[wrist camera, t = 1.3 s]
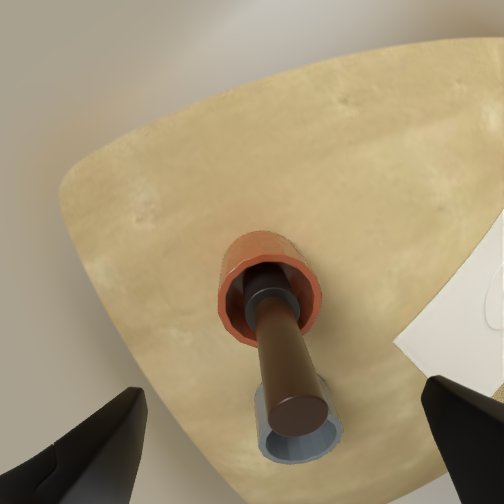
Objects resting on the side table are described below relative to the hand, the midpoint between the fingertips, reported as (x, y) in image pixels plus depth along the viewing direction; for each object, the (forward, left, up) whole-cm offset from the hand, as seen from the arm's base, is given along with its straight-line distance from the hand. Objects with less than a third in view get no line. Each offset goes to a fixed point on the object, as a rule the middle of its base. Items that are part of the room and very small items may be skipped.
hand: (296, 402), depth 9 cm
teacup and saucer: (+25, -5, -13) cm, 29 cm away
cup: (+3, -11, -13) cm, 17 cm away
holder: (0, 0, -13) cm, 13 cm away
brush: (0, 0, -10) cm, 11 cm away
